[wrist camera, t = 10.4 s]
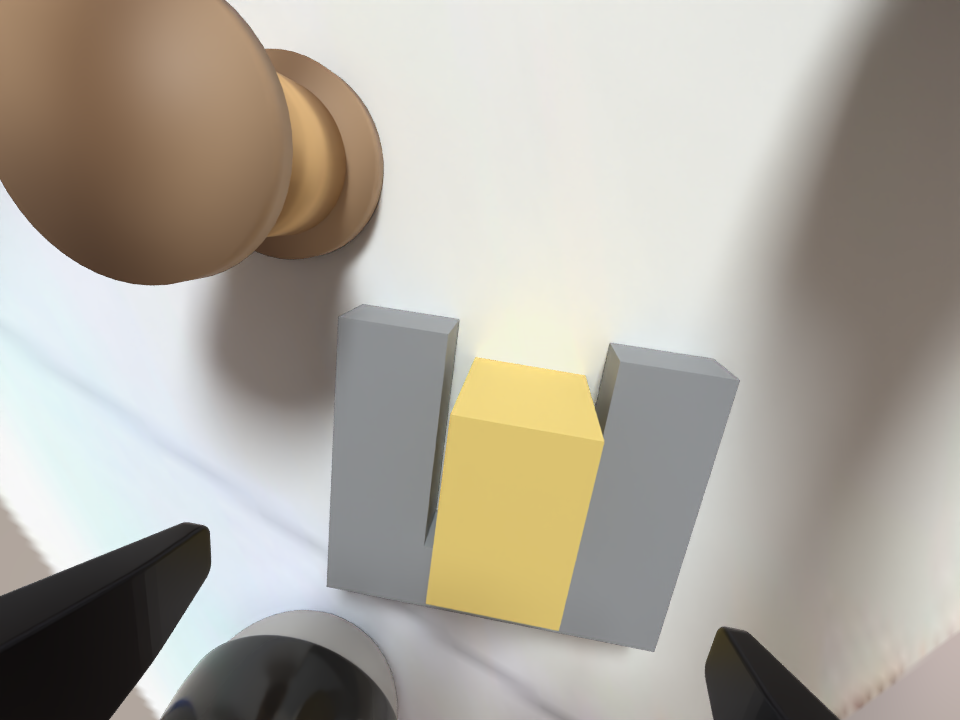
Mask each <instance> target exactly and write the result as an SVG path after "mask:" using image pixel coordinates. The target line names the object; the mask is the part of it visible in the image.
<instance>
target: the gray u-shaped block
mask: <svg viewBox="0 0 960 720" xmlns="http://www.w3.org/2000/svg"><path fill="white" fill-rule="evenodd" d="M458 327H459V319H454V318H448V317H441V316H435V315H428V314H422V313H416V312H409V311H403V310H396V309H390V308H384V307H377V306H371V305H364V304H362V305H360V306H358V307H356V308H354V309H353V310H351V311H349V312H347V313H345V314H343V315H341V316H339V317H338V339H337V362H336V385H335V408H334V431H333V453H332V476H331V499H330V522H329V545H328V568H327V587H330V588H335V589H341V590H346V591H351V592H356V593H361V594H366V595H371V596H376V597H381V598H386V599H391V600H396V601H401V602H406V603H411V604H416V605H421V606H426V607H431V608H436V609H441V610H446V611H451V612H456V613H461V614H466V615H471V616H476V617H481V618H486V619H491V620H496V621H501V622H506V623H511V624H516V625H521V626H526V627H531V628H536V629H541V630H546V631H551V632H556V633H561V634H566V635H571V636H576V637H581V638H586V639H591V640H596V641H601V642H606V643H611V644H616V645H621V646H626V647H632V648H637V649H642V650H647V651H652V652H654V651H655V648H656V645H657V642H658V638H659V635H660V632H661V629H662V626H663V623H664V619H665V616H666V613H667V610H668V607H669V604H670V600H671V597H672V594H673V591H674V588H675V585H676V581H677V578H678V575H679V572H680V569H681V566H682V562H683V559H684V556H685V553H686V550H687V547H688V543H689V540H690V537H691V534H692V531H693V528H694V524H695V521H696V518H697V515H698V512H699V509H700V505H701V502H702V499H703V496H704V493H705V489H706V486H707V483H708V480H709V477H710V474H711V470H712V467H713V464H714V461H715V458H716V455H717V451H718V448H719V445H720V442H721V439H722V436H723V432H724V429H725V426H726V423H727V420H728V417H729V413H730V410H731V407H732V404H733V401H734V398H735V394H736V391H737V388H738V385H739V382H740V380H739V379H738V378H736V377H735V376H734V375H733V374H732V373H730V372H729V371H728V370H727V369H726V368H724V367H723V366H722V365H721V364H719V363H718V362H717V361H716V360H715V359H711V358H704V357H698V356H691V355H685V354H678V353H672V352H666V351H659V350H653V349H646V348H640V347H634V346H627V345H621V344H614V343H610V345H609V349H608V354H607V358H606V363H605V367H604V372H603V376H602V381H601V385H600V390H599V394H598V399H597V403H596V408H595V411H596V414H597V418H598V421H599V424H600V428H601V431H602V435H603V438H604V446H603V450H602V454H601V459H600V463H599V467H598V471H597V475H596V479H595V483H594V488H593V492H592V496H591V500H590V504H589V508H588V512H587V517H586V521H585V525H584V529H583V533H582V537H581V541H580V545H579V550H578V554H577V558H576V562H575V566H574V570H573V574H572V579H571V583H570V587H569V591H568V595H567V599H566V603H565V608H564V612H563V616H562V620H561V624H560V628H559V631H556V630H551V629H546V628H542V627H537V626H532V625H527V624H522V623H517V622H512V621H507V620H502V619H498V618H493V617H488V616H483V615H478V614H473V613H468V612H463V611H458V610H454V609H449V608H444V607H439V606H434V605H429V604H426V597H427V590H428V582H429V574H430V567H431V559H432V551H433V544H434V536H435V528H436V521H437V513H438V511H436V508H437V499H438V491H439V483H440V475H441V467H442V458H443V450H444V442H445V434H446V426H447V417H448V409H449V401H450V393H451V385H452V376H453V368H454V360H455V352H456V344H457V335H458Z"/></svg>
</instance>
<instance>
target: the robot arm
mask: <svg viewBox="0 0 960 720" xmlns="http://www.w3.org/2000/svg"><path fill="white" fill-rule="evenodd" d="M210 567H211V545H210V531H209V529H208V527H206V526H204V525H200V524H194V523H189V522H185V523H181V524H178V525H176V526H173V527H171V528H168V529H166V530H163V531H161V532H158V533H156V534H153V535H151V536H148V537H146V538H143V539H141V540H139V541H136V542H134V543H131V544H129V545H126V546H124V547H121V548H119V549H116V550H114V551H111V552H109V553H106V554H104V555H101V556H99V557H96V558H94V559H91V560H89V561H86V562H84V563H81V564H79V565H76V566H74V567H71V568H69V569H66V570H64V571H61V572H59V573H56V574H54V575H52V576H49V577H47V578H44V579H42V580H39V581H37V582H34V583H32V584H29V585H27V586H24V587H22V588H19V589H17V590H14V591H12V592H9V593H7V594H4V595H2V596H0V720H109V719H110V718H111V716H112V715H113V714H114V713H115V711H116V710H117V709H118V707H119V706H120V705H121V704H122V702H123V701H124V700H125V698H126V697H127V696H128V694H129V693H130V692H131V690H132V689H133V688H134V686H135V685H136V684H137V683H138V681H139V680H140V679H141V677H142V676H143V675H144V673H145V672H146V671H147V669H148V668H149V666H150V665H151V664H152V662H153V661H154V659H155V658H156V656H157V655H158V653H159V652H160V650H161V649H162V647H163V646H164V644H165V643H166V641H167V640H168V638H169V636H170V635H171V633H172V632H173V630H174V628H175V627H176V625H177V624H178V622H179V621H180V619H181V617H182V616H183V614H184V613H185V611H186V610H187V608H188V606H189V605H190V603H191V602H192V600H193V598H194V597H195V595H196V594H197V592H198V591H199V589H200V587H201V586H202V584H203V583H204V581H205V579H206V578H207V576H208V574H209V571H210ZM705 679H706V684H707V689H708V694H709V699H710V705H711V710H712V715H713V720H840V719H839V718H838V717H837V716H836V715H835V714H833V713H832V712H831V711H830V710H829V709H828V708H827V707H826V706H825V705H824V704H823V703H822V702H821V701H820V700H819V699H818V698H817V697H816V696H815V695H814V694H813V693H812V692H810V691H809V690H808V689H807V688H806V687H805V686H804V685H803V684H802V683H801V682H800V681H799V680H798V679H797V678H796V677H795V676H794V675H793V674H792V673H791V672H790V671H788V670H787V669H786V668H785V667H784V666H783V665H782V664H781V663H780V662H779V661H778V660H777V659H776V658H775V657H774V656H773V655H772V654H771V653H770V652H769V651H768V650H767V649H765V648H764V647H763V646H762V645H761V644H760V643H759V642H758V641H757V640H756V639H755V638H754V637H753V636H752V635H751V634H749V633H748V632H747V631H744V630H740V629H735V628H730V627H721V628H719V629H718V631H717V633H716V635H715V638H714V641H713V644H712V646H711V649H710V652H709V655H708V658H707V660H706V664H705Z"/></svg>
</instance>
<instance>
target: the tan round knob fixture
mask: <svg viewBox="0 0 960 720" xmlns="http://www.w3.org/2000/svg"><path fill="white" fill-rule="evenodd" d="M0 180H1V182H2V183H3V185H4V187H5V189H6V191H7V192H8V194H9V195H10V197H11V198H12V200H13V201H14V203H15V204H16V205H17V207H18V208H19V210H20V211H21V212H22V213H23V215H24V216H25V217H26V218H27V219H28V221H29V222H30V223H31V224H32V225H33V227H34V228H35V229H36V230H37V231H38V232H39V233H40V234H41V235H42V236H43V237H44V238H45V239H47V240H48V241H49V242H50V243H51V244H52V245H54V246H55V247H56V248H57V249H58V250H60V251H61V252H62V253H63V254H65V255H66V256H68V257H69V258H71V259H72V260H74V261H76V262H77V263H79V264H80V265H82V266H84V267H86V268H88V269H90V270H92V271H94V272H96V273H98V274H101V275H103V276H106V277H109V278H112V279H114V280H118V281H122V282H127V283H131V284H140V285H168V284H174V283H179V282H184V281H189V280H194V279H199V278H204V277H209V276H213V275H216V274H218V273H221V272H224V271H226V270H228V269H230V268H232V267H233V266H235V265H237V264H239V263H240V262H242V261H243V260H244V259H245V258H247V257H248V256H249V255H250V254H252V253H253V252H254V251H256V252H259V253H261V254H264V255H267V256H271V257H275V258H280V259H304V258H309V257H314V256H319V255H324V254H327V253H330V252H333V251H335V250H337V249H339V248H341V247H343V246H345V245H346V244H347V243H349V242H350V241H351V240H353V239H354V238H355V237H356V236H357V235H358V234H359V233H360V232H361V231H362V229H363V228H364V227H365V226H366V224H367V223H368V221H369V220H370V218H371V216H372V214H373V213H374V210H375V208H376V205H377V203H378V200H379V197H380V193H381V189H382V182H383V154H382V147H381V143H380V138H379V135H378V132H377V129H376V126H375V123H374V121H373V119H372V117H371V115H370V113H369V111H368V109H367V108H366V106H365V105H364V103H363V102H362V100H361V99H360V97H359V96H358V95H357V94H356V93H355V91H354V90H353V89H352V88H351V87H350V86H349V85H348V84H347V83H346V82H345V81H343V80H342V79H341V78H340V77H338V76H337V75H336V74H334V73H333V72H331V71H330V70H328V69H327V68H326V67H324V66H323V65H321V64H320V63H318V62H316V61H314V60H312V59H311V58H309V57H307V56H304V55H301V54H298V53H296V52H292V51H287V50H282V49H264V47H263V45H262V44H261V42H260V41H259V39H258V38H257V36H256V35H255V33H254V32H253V30H252V29H251V27H250V26H249V25H248V24H247V23H246V22H245V20H244V19H243V18H242V17H241V16H240V15H239V13H238V12H237V11H236V10H235V9H234V8H233V7H232V6H231V5H230V4H229V3H228V2H226V1H225V0H0Z"/></svg>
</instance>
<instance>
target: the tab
mask: <svg viewBox="0 0 960 720" xmlns="http://www.w3.org/2000/svg"><path fill="white" fill-rule="evenodd" d="M603 446H604V438H603V435H602V431H601V428H600V424H599V421H598V418H597V414H596V411H595V407H594V404H593V400H592V397H591V393H590V390H589V387H588V383H587V380H586V376H585V375H579V374H573V373H567V372H561V371H555V370H549V369H543V368H537V367H531V366H525V365H519V364H513V363H507V362H502V361H496V360H490V359H484V358H478V357H475V359H474V361H473V364H472V366H471V368H470V371H469V373H468V375H467V377H466V380H465V382H464V384H463V387H462V389H461V391H460V394H459V396H458V398H457V400H456V403H455V405H454V407H453V410H452V412H451V414H450V421H449V428H448V436H447V444H446V451H445V459H444V467H443V474H442V482H441V490H440V497H439V505H438V513H437V521H436V528H435V536H434V544H433V551H432V559H431V567H430V574H429V582H428V590H427V597H426V604H429V605H434V606H439V607H444V608H449V609H454V610H458V611H463V612H468V613H473V614H478V615H483V616H488V617H493V618H498V619H502V620H507V621H512V622H517V623H522V624H527V625H532V626H537V627H542V628H546V629H551V630H556V631H559V628H560V624H561V620H562V616H563V612H564V608H565V603H566V599H567V595H568V591H569V587H570V583H571V579H572V574H573V570H574V566H575V562H576V558H577V554H578V550H579V545H580V541H581V537H582V533H583V529H584V525H585V521H586V517H587V512H588V508H589V504H590V500H591V496H592V492H593V488H594V483H595V479H596V475H597V471H598V467H599V463H600V459H601V454H602V450H603Z"/></svg>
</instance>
